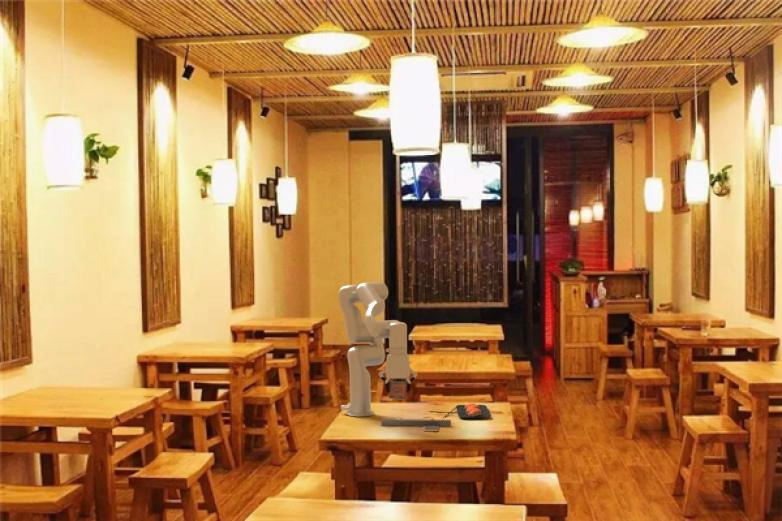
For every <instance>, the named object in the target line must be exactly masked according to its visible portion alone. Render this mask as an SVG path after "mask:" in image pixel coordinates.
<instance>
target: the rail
mask: <svg viewBox="0 0 782 521" xmlns="http://www.w3.org/2000/svg"><path fill="white" fill-rule="evenodd" d="M380 424H381V427H392V426H393V427H425V425H439V427H451V426H452V419H442V420H441V419H435V418H434V417H431V418H430V419H418V418H417V419H415V418H414V419H413V418H411V419H409V418H408V419H407V418H406V419H405V418H404V419H403V418H402V417H398V418H394V419H393V418H381V422H380Z"/></svg>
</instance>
